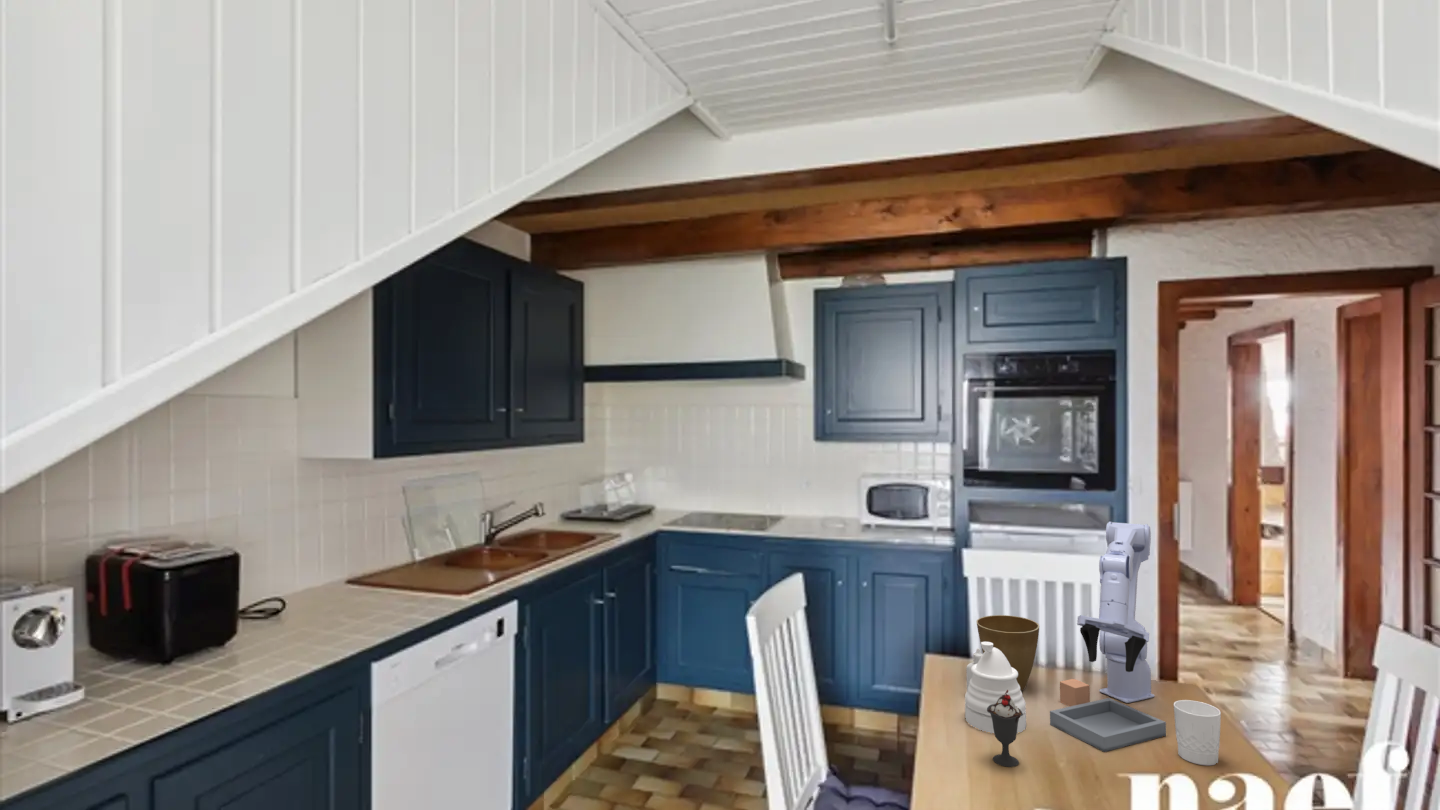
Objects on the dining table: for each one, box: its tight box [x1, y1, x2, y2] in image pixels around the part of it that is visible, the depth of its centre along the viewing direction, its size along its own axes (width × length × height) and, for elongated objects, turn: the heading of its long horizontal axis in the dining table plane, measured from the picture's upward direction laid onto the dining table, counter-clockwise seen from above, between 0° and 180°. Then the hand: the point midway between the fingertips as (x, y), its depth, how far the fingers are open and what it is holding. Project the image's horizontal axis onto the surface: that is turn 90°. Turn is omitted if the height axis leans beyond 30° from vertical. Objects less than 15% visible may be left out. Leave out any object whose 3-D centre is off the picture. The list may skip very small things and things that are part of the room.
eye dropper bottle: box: [966, 647, 983, 692], centre depth 175 cm, size 4×6×12 cm
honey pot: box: [964, 642, 1027, 734], centre depth 162 cm, size 13×13×18 cm
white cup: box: [1173, 699, 1222, 766], centre depth 144 cm, size 8×8×10 cm
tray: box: [1049, 697, 1167, 753], centre depth 156 cm, size 18×14×3 cm
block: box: [1059, 678, 1091, 707], centre depth 170 cm, size 4×4×5 cm
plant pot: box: [976, 614, 1040, 691], centre depth 182 cm, size 15×15×16 cm
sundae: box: [987, 690, 1023, 768], centre depth 144 cm, size 7×7×15 cm
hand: (1110, 666), depth 157 cm, fingers open, 7 cm apart
